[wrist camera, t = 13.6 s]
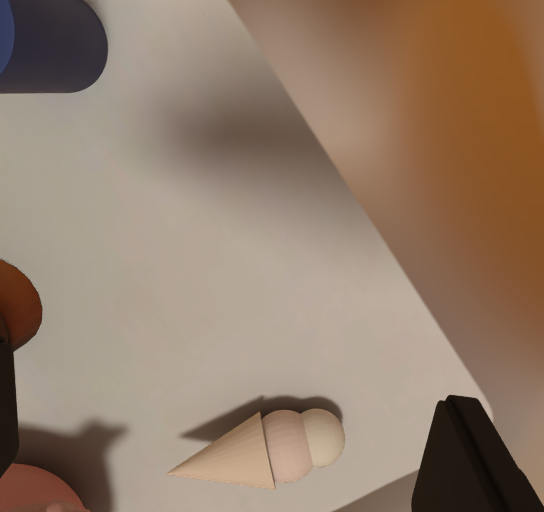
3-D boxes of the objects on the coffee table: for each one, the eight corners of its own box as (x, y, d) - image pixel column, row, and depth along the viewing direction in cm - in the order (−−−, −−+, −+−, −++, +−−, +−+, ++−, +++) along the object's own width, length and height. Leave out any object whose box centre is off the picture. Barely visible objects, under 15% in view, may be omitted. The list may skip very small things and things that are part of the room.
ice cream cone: (168, 435, 43) (330, 397, 44) (178, 510, 41) (349, 468, 42) (151, 433, 38) (338, 389, 39) (162, 521, 36) (359, 471, 37)
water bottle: (107, -3, 32) (-19, -68, 19) (108, 97, 35) (-5, 101, 21) (12, -14, 32) (-180, -86, 19) (18, 87, 35) (-151, 85, 21)
